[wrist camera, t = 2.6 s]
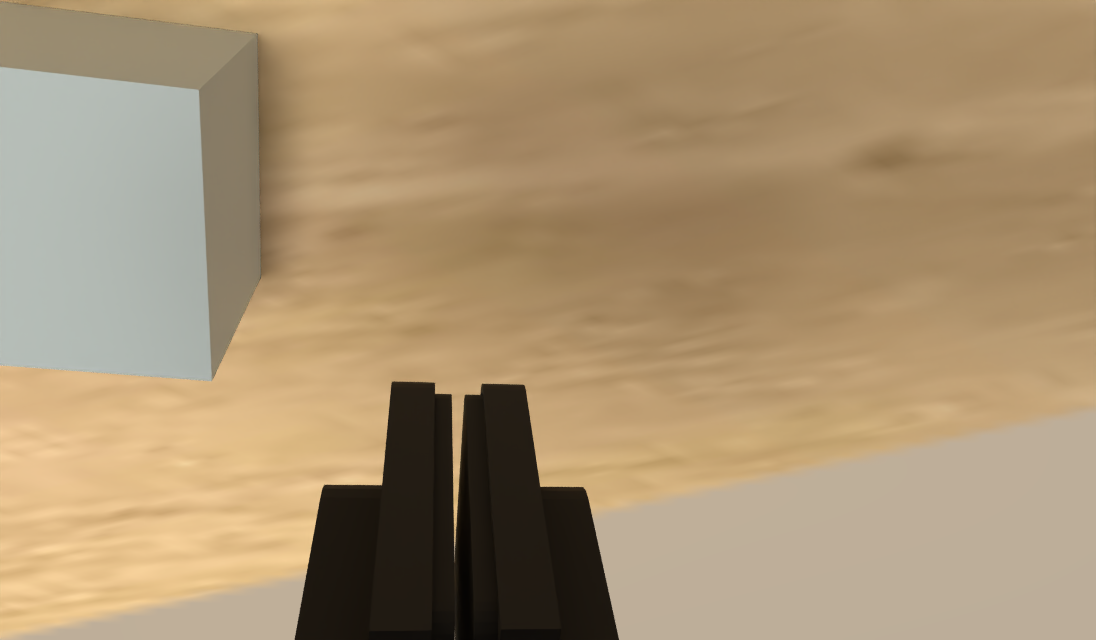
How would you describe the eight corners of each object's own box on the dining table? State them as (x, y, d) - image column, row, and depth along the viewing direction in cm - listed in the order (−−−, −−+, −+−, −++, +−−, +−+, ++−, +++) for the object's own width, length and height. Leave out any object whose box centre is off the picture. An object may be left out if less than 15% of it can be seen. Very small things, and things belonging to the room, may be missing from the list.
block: (259, 32, 20) (198, 89, 15) (262, 274, 23) (212, 381, 18) (-133, -17, 19) (-317, 30, 14) (-79, 243, 22) (-218, 349, 17)
